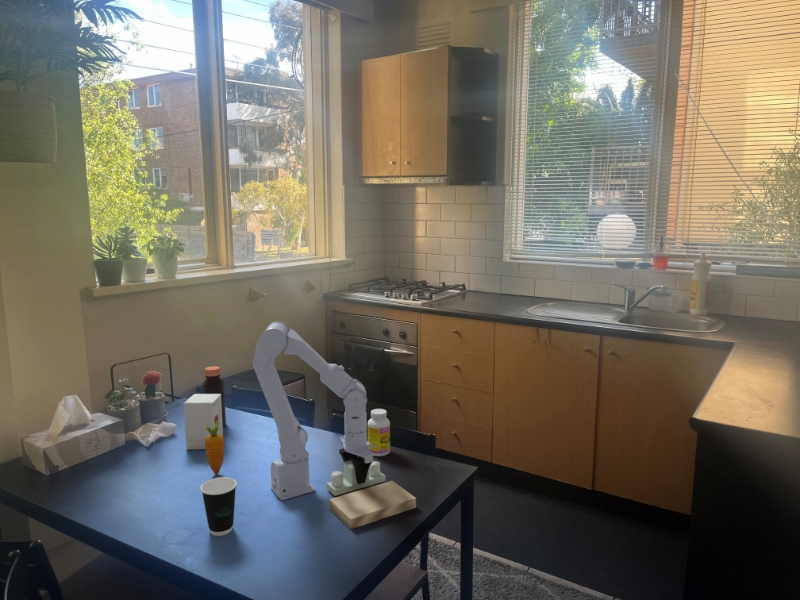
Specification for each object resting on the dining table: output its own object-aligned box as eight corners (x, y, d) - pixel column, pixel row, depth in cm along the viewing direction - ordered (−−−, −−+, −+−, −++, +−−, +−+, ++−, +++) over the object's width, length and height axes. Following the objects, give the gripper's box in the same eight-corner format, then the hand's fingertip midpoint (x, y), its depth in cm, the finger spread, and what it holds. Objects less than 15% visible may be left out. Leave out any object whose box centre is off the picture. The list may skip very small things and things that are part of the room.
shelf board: (350, 529, 136) (350, 519, 136) (329, 508, 145) (329, 499, 145) (415, 507, 146) (415, 498, 145) (392, 489, 155) (392, 480, 154)
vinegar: (201, 428, 197) (197, 370, 194) (211, 421, 204) (207, 364, 201) (220, 429, 196) (217, 371, 193) (229, 422, 203) (226, 365, 200)
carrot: (208, 480, 161) (205, 427, 158) (205, 472, 165) (202, 421, 163) (227, 476, 163) (224, 424, 161) (224, 469, 167) (221, 418, 165)
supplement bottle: (380, 459, 173) (380, 417, 171) (363, 453, 177) (362, 412, 175) (394, 451, 179) (394, 410, 176) (377, 446, 182) (377, 406, 180)
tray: (334, 495, 150) (334, 473, 149) (326, 488, 154) (326, 466, 153) (385, 481, 158) (385, 459, 157) (376, 474, 162) (376, 453, 161)
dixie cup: (224, 542, 131) (221, 496, 129) (195, 535, 134) (192, 489, 132) (246, 524, 138) (244, 480, 137) (218, 518, 141) (215, 474, 139)
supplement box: (215, 450, 180) (212, 402, 178) (185, 450, 180) (182, 402, 178) (224, 438, 189) (221, 393, 187) (196, 438, 189) (193, 393, 187)
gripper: (383, 435, 150) (383, 485, 152) (355, 418, 162) (356, 465, 164) (358, 441, 146) (359, 493, 148) (332, 423, 158) (333, 471, 161)
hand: (356, 478), depth 156 cm, fingers closed on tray, 5 cm apart
